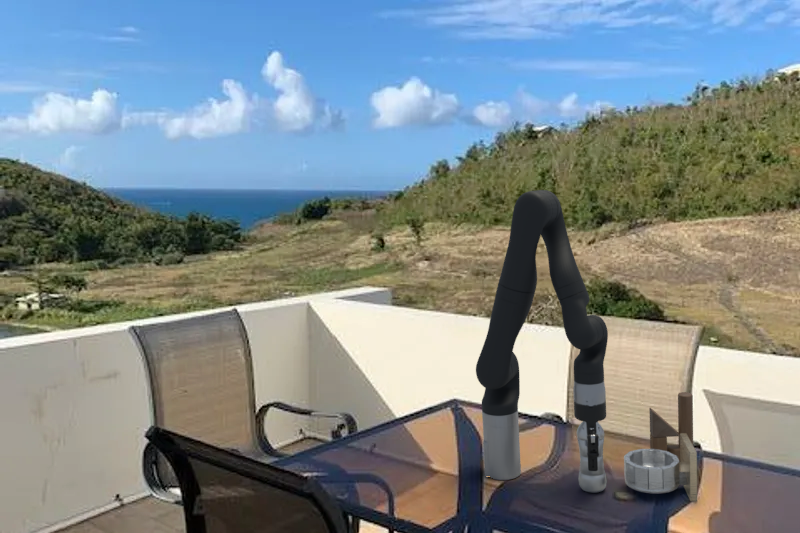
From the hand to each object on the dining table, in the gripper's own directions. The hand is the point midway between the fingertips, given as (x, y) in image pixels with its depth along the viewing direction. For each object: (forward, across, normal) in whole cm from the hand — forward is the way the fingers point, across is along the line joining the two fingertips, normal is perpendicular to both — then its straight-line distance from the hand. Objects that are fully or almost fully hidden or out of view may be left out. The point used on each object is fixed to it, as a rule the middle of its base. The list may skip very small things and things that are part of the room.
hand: (591, 465), depth 193 cm
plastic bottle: (+7, 0, 0) cm, 7 cm away
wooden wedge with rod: (+7, -18, +22) cm, 29 cm away
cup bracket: (+6, 0, +16) cm, 17 cm away
